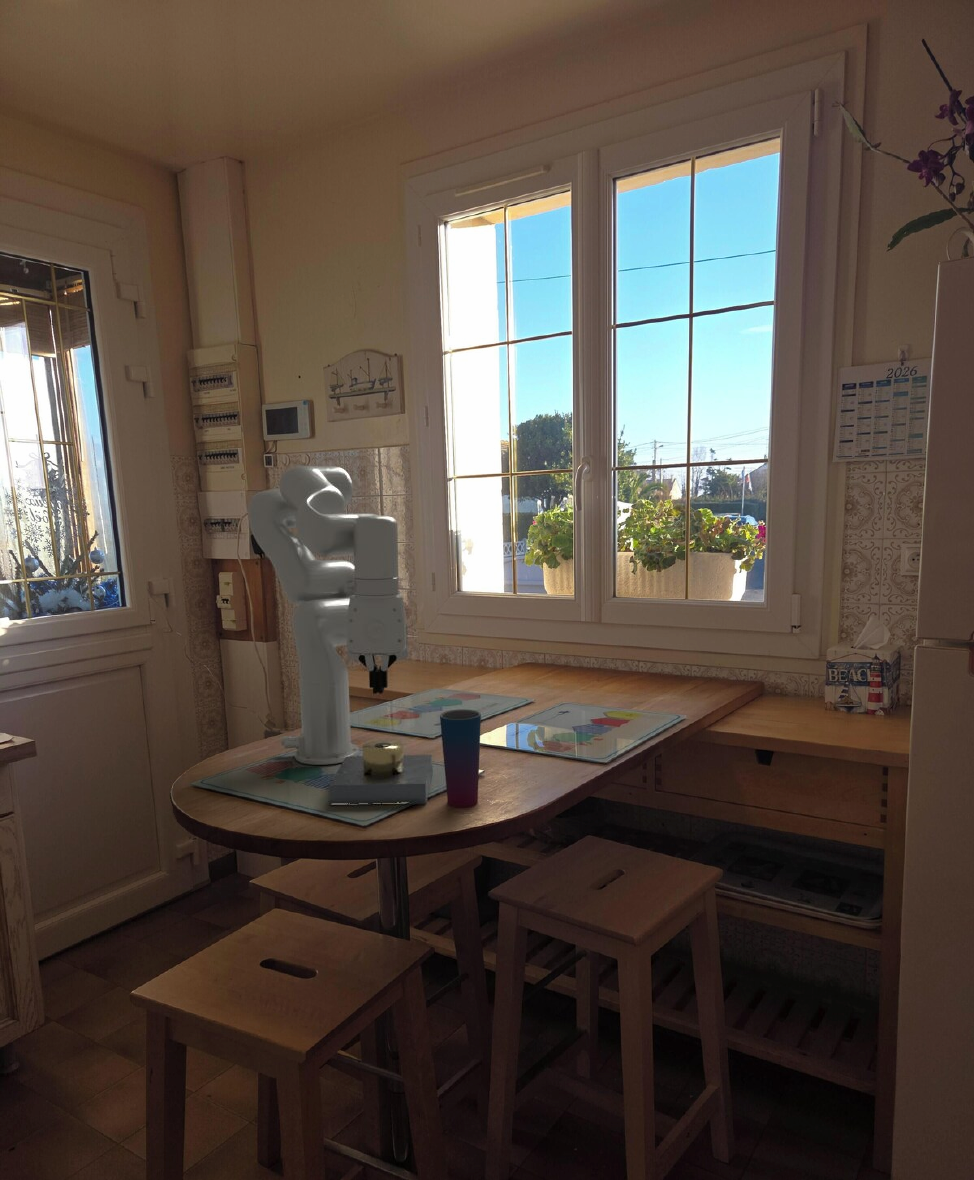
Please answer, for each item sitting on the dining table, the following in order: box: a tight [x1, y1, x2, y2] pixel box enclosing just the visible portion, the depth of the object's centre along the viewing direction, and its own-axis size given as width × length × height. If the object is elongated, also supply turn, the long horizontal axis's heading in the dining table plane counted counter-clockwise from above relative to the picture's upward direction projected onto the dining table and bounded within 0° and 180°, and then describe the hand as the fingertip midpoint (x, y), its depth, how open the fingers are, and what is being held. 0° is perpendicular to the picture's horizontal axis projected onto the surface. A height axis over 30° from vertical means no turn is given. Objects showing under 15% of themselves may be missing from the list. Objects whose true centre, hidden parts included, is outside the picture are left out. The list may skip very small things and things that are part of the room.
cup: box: [439, 708, 482, 809], centre depth 134 cm, size 7×7×15 cm
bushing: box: [362, 739, 404, 776], centre depth 142 cm, size 7×7×8 cm
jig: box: [328, 754, 434, 805], centre depth 143 cm, size 16×16×4 cm
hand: (378, 691), depth 142 cm, fingers closed
